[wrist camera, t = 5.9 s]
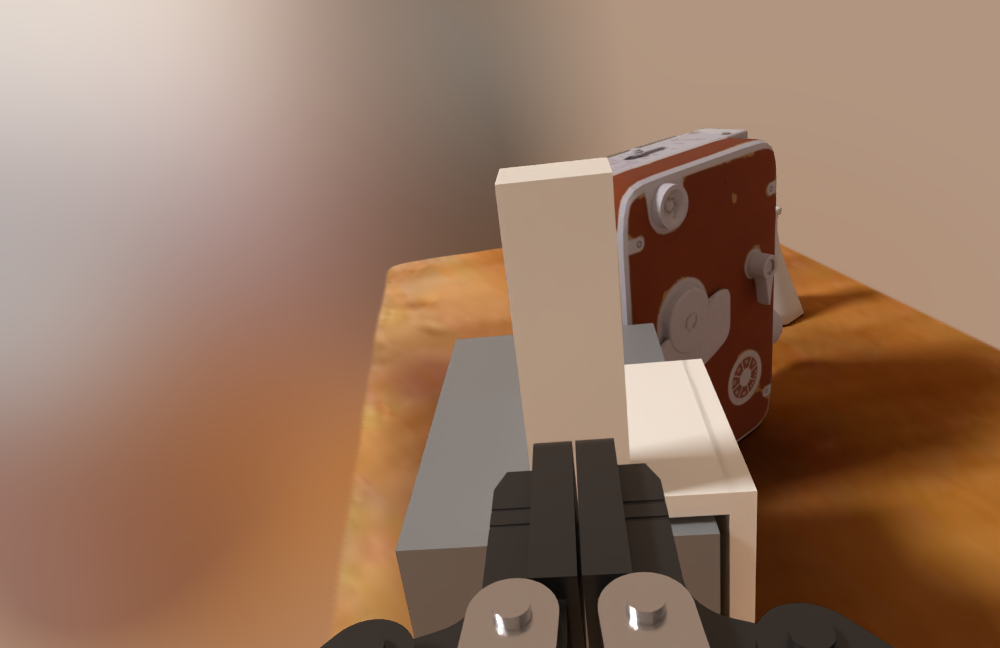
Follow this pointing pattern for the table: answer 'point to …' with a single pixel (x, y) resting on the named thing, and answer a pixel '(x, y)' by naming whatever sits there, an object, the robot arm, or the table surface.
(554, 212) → the grooved cream block
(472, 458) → the camera housing
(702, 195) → the brown boxy piece
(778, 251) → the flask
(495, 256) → the table surface
